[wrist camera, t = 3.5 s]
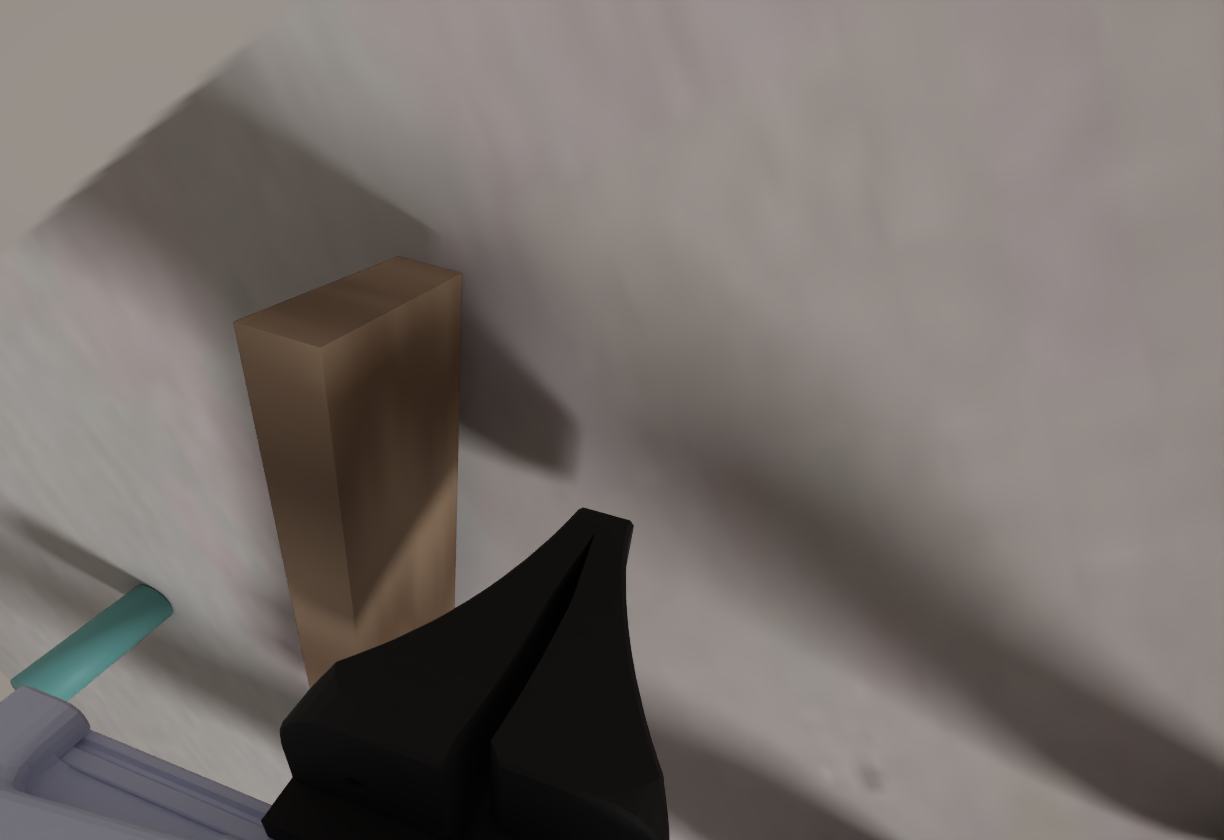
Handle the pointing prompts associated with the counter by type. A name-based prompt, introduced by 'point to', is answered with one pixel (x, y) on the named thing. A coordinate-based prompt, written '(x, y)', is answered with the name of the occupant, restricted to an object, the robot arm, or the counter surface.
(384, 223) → the counter surface
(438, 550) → the wooden plank
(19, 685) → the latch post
